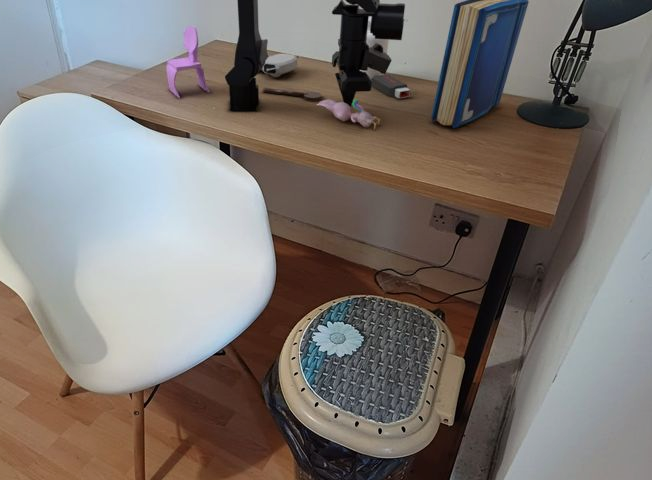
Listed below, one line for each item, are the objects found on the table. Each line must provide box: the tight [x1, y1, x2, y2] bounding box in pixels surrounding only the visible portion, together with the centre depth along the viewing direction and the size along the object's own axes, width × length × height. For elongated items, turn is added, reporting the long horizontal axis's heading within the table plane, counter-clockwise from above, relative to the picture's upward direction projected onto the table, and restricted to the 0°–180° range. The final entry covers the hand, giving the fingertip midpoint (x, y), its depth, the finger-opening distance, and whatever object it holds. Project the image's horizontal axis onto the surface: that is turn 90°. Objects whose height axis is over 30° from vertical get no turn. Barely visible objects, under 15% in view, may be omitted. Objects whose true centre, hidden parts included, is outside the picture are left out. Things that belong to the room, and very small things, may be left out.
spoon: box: [262, 87, 322, 102], centre depth 133 cm, size 15×4×1 cm, turn 73°
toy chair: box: [165, 26, 210, 99], centre depth 129 cm, size 8×9×15 cm
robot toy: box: [260, 53, 303, 78], centre depth 146 cm, size 12×4×15 cm
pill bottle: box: [360, 16, 390, 79], centre depth 139 cm, size 8×8×15 cm
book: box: [430, 0, 529, 129], centre depth 117 cm, size 22×7×25 cm, turn 134°
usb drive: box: [371, 73, 411, 100], centre depth 136 cm, size 5×12×3 cm, turn 24°
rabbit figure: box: [316, 98, 381, 130], centre depth 119 cm, size 6×6×15 cm
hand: (347, 108), depth 122 cm, fingers closed
